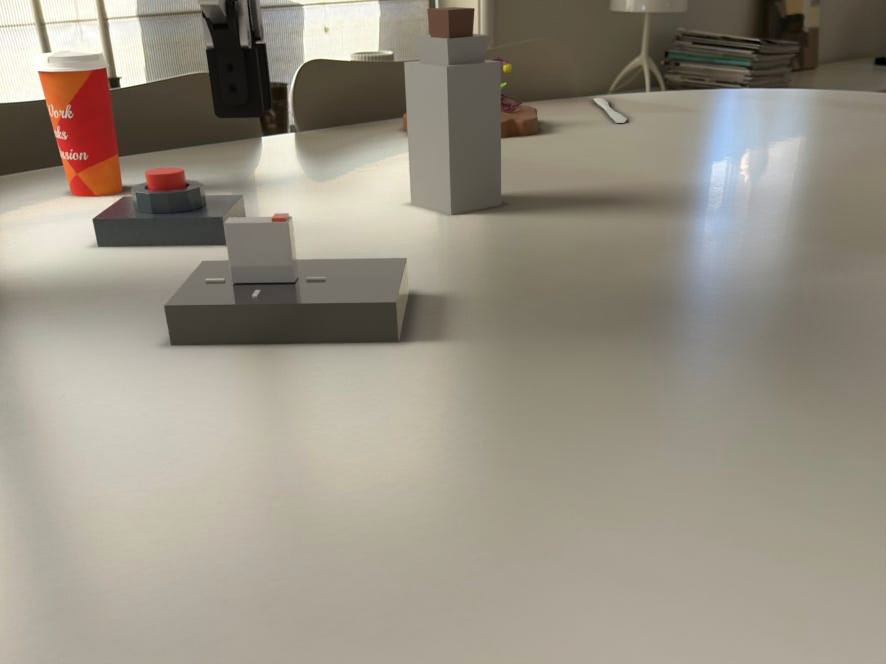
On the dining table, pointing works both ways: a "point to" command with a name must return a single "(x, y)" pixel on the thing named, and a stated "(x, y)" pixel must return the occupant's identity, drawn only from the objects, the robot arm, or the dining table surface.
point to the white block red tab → (261, 249)
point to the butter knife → (610, 110)
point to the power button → (165, 179)
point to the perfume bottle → (453, 116)
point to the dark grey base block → (292, 305)
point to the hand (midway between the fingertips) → (244, 110)
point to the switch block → (167, 217)
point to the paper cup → (82, 119)
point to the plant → (510, 113)
